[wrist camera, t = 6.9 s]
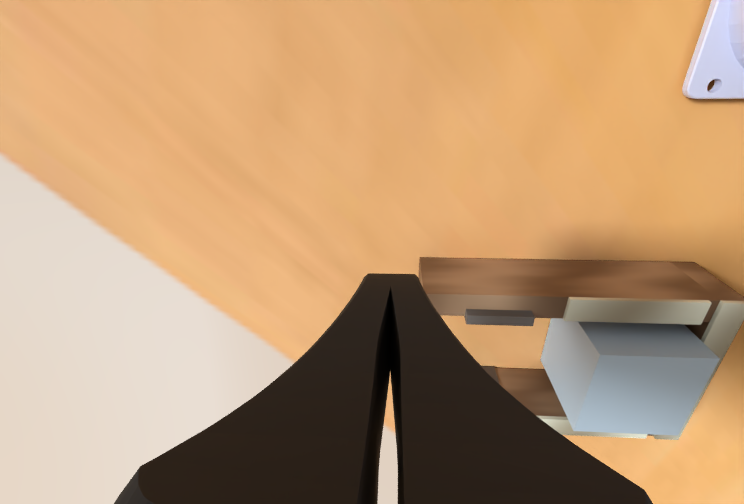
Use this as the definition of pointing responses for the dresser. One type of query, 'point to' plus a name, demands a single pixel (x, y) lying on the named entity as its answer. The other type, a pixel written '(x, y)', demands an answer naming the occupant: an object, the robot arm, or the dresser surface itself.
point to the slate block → (626, 374)
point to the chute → (581, 309)
